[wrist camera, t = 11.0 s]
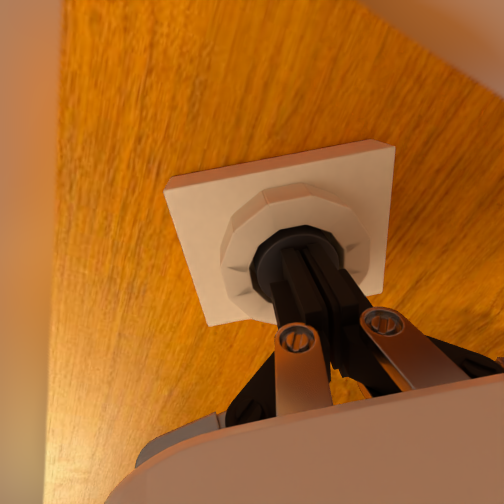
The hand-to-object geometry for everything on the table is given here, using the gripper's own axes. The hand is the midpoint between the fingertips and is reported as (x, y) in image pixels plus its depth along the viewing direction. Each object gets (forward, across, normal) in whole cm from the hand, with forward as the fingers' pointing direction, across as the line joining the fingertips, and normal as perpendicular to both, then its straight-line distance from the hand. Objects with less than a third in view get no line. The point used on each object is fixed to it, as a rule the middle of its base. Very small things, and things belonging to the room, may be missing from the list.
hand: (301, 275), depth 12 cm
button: (+2, 0, 0) cm, 2 cm away
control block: (+4, 0, 0) cm, 4 cm away
